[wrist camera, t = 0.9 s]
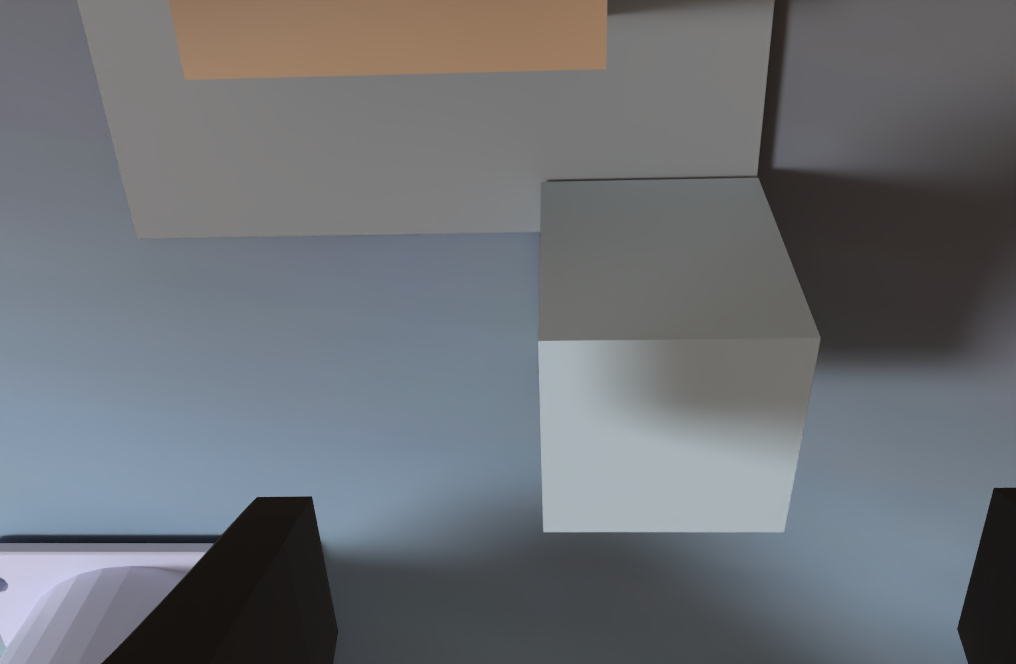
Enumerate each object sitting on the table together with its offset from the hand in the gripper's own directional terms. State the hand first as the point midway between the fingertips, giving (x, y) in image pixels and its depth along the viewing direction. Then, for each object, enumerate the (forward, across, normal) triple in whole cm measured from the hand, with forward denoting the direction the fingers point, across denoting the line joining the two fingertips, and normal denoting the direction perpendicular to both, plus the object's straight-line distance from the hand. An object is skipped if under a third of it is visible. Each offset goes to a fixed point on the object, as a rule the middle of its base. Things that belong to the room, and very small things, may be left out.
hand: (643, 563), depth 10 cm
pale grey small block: (+9, -1, +1) cm, 9 cm away
